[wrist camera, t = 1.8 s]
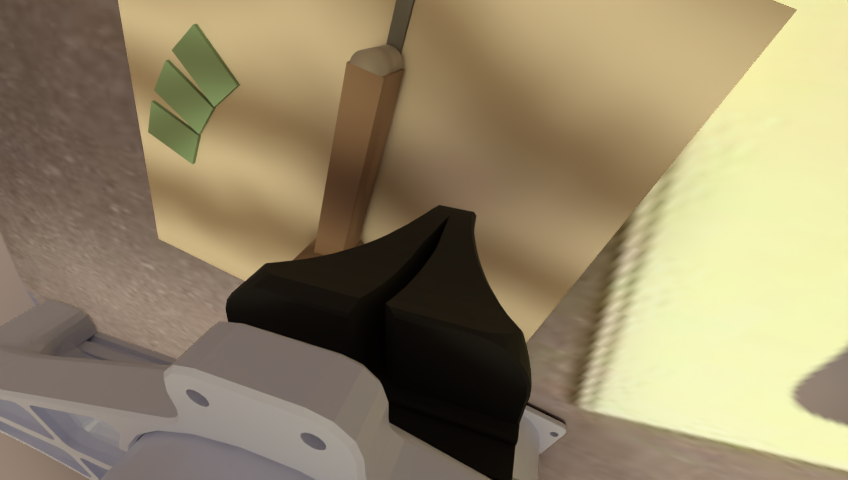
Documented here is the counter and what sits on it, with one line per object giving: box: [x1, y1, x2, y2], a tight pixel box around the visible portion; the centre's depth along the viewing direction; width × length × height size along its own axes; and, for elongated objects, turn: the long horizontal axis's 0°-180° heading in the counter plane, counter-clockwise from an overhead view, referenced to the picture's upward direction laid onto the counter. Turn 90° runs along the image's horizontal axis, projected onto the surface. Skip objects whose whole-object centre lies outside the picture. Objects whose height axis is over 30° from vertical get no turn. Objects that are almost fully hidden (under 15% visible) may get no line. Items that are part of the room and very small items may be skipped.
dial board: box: [118, 0, 796, 342], centre depth 18 cm, size 22×24×1 cm
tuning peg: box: [293, 45, 404, 260], centre depth 16 cm, size 13×4×3 cm, turn 162°
